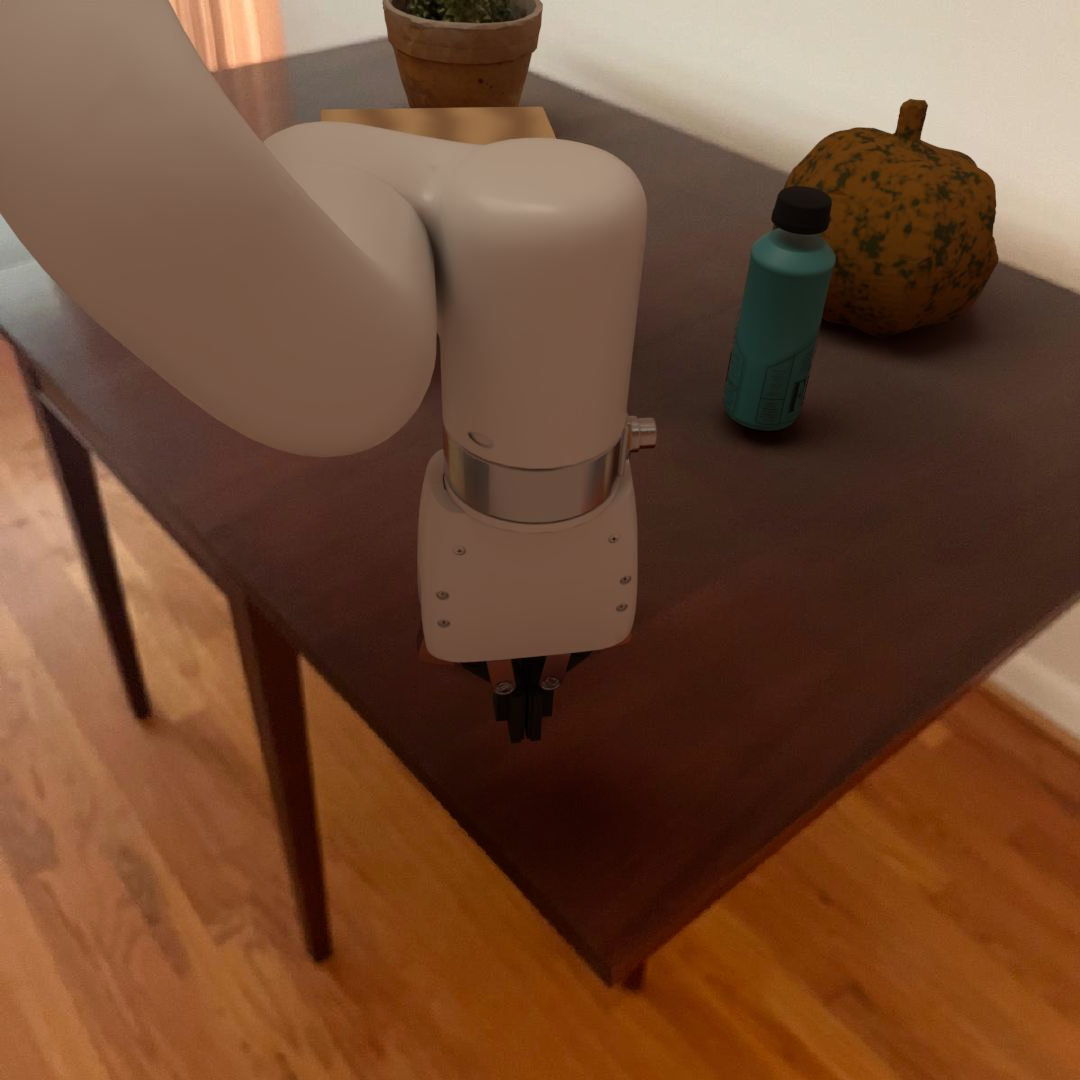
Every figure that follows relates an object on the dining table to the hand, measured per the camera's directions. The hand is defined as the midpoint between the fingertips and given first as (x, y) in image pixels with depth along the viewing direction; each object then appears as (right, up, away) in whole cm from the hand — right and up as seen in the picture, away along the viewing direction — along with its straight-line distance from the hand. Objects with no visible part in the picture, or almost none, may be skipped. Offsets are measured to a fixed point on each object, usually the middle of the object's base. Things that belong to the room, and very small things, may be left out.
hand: (521, 720), depth 57 cm
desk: (-8, +26, +37) cm, 46 cm away
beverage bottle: (+19, +19, +31) cm, 42 cm away
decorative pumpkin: (+33, +33, +47) cm, 66 cm away
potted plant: (-8, +60, +75) cm, 96 cm away
